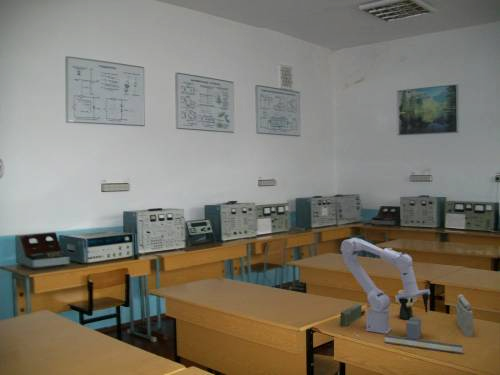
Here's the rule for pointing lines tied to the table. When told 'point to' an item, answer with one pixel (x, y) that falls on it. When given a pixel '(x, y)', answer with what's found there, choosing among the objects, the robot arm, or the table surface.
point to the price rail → (424, 344)
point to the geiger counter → (464, 316)
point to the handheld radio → (351, 314)
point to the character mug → (408, 303)
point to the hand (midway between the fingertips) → (417, 313)
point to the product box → (413, 328)
